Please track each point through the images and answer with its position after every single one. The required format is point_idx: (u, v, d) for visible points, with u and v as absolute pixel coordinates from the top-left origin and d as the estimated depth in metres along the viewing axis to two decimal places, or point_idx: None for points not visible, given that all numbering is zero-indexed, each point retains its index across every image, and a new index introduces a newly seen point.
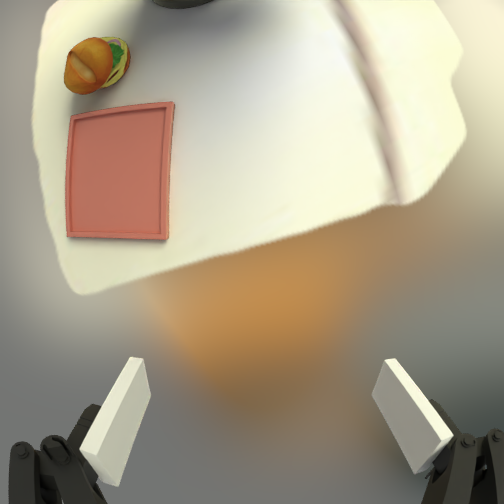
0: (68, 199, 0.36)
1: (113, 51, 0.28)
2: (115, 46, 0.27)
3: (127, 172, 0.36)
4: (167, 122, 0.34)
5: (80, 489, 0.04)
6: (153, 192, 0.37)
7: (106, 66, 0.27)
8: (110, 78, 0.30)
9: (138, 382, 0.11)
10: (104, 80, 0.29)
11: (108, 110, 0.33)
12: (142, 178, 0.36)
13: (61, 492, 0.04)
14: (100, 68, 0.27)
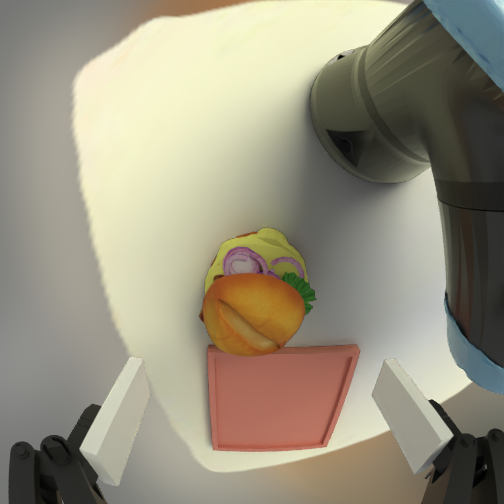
0: (215, 428, 0.32)
1: (294, 288, 0.24)
2: (298, 281, 0.24)
3: (295, 410, 0.32)
4: (351, 371, 0.30)
5: (80, 489, 0.04)
6: (321, 420, 0.33)
7: (296, 331, 0.23)
8: None
9: (138, 382, 0.11)
10: None
11: (275, 356, 0.29)
12: (312, 413, 0.33)
13: (61, 492, 0.04)
14: (289, 338, 0.23)
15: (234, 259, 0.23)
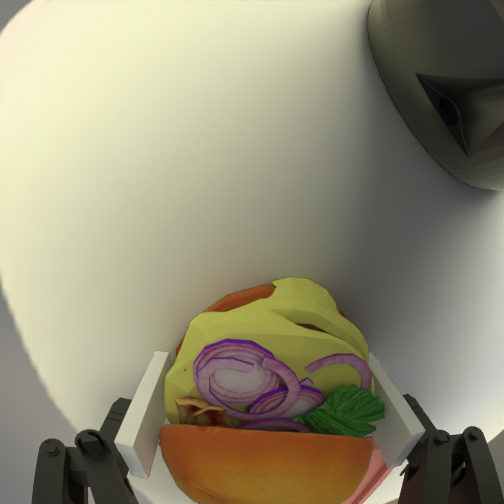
0: None
1: (349, 408, 0.10)
2: (361, 397, 0.09)
3: None
4: None
5: (112, 484, 0.05)
6: (346, 501, 0.19)
7: None
8: None
9: (164, 375, 0.12)
10: None
11: None
12: None
13: (92, 486, 0.05)
14: None
15: (219, 367, 0.09)
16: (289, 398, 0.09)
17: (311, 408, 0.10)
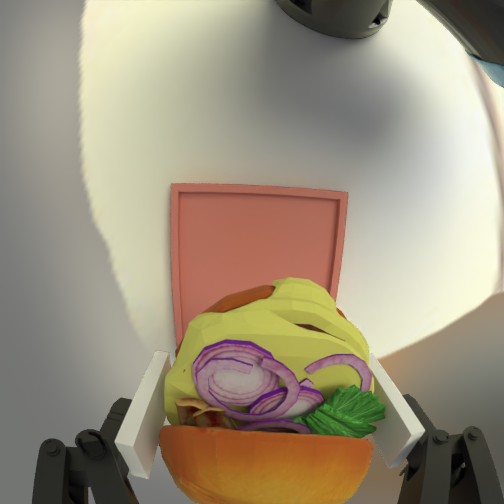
0: (179, 312, 0.29)
1: (349, 408, 0.10)
2: (361, 398, 0.09)
3: None
4: (341, 222, 0.27)
5: (113, 484, 0.05)
6: None
7: None
8: None
9: (165, 375, 0.12)
10: None
11: (246, 188, 0.26)
12: None
13: (92, 486, 0.05)
14: None
15: (219, 368, 0.09)
16: (289, 399, 0.09)
17: (311, 409, 0.10)
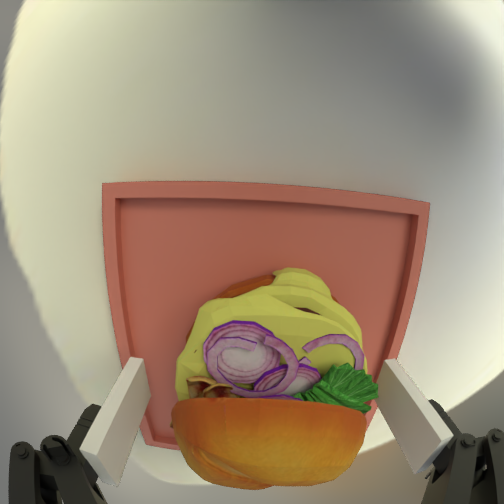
0: None
1: (344, 386, 0.11)
2: (355, 375, 0.11)
3: None
4: (417, 257, 0.14)
5: (80, 489, 0.04)
6: None
7: None
8: None
9: (138, 382, 0.11)
10: None
11: (248, 189, 0.13)
12: None
13: (61, 492, 0.04)
14: None
15: (226, 346, 0.10)
16: (289, 375, 0.10)
17: (309, 386, 0.11)
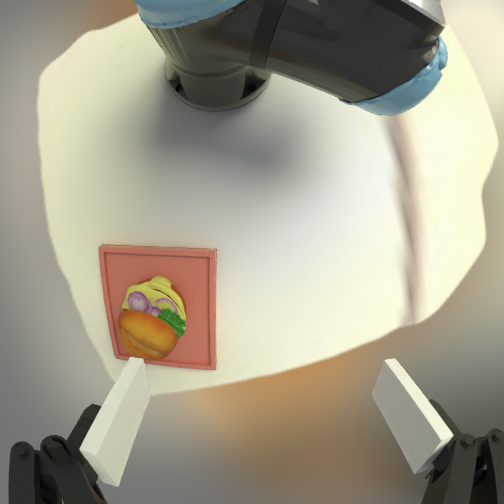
0: (112, 329, 0.40)
1: (171, 318, 0.35)
2: (172, 314, 0.35)
3: None
4: (212, 274, 0.38)
5: (80, 489, 0.04)
6: (201, 333, 0.41)
7: (173, 346, 0.34)
8: None
9: (138, 382, 0.11)
10: None
11: (143, 250, 0.37)
12: (189, 321, 0.40)
13: (61, 492, 0.04)
14: (168, 350, 0.34)
15: (133, 299, 0.34)
16: (150, 309, 0.34)
17: None
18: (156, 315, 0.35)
